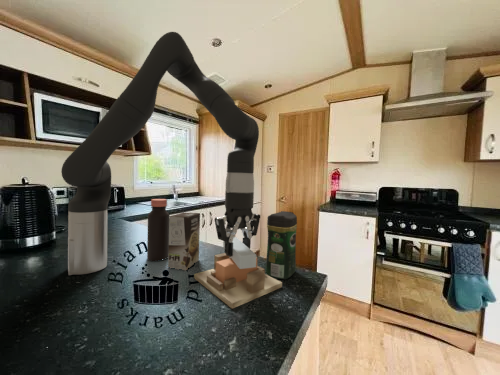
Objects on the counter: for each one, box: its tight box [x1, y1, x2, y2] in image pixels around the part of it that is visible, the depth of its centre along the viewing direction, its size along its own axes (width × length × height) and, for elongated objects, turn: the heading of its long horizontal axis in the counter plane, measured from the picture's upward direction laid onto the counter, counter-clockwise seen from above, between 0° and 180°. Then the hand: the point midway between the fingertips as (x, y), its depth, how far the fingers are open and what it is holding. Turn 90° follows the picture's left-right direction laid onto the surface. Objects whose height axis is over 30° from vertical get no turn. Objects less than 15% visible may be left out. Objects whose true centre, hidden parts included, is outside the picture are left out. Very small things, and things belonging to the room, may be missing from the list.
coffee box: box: [167, 212, 201, 271], centre depth 71 cm, size 9×6×16 cm
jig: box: [193, 252, 283, 310], centre depth 59 cm, size 16×18×5 cm
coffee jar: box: [265, 210, 298, 280], centre depth 66 cm, size 10×8×19 cm
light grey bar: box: [222, 236, 257, 269], centre depth 59 cm, size 4×16×3 cm, turn 21°
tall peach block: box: [215, 256, 258, 287], centre depth 59 cm, size 11×4×5 cm, turn 130°
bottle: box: [146, 198, 171, 262], centre depth 75 cm, size 7×7×20 cm
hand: (237, 253), depth 59 cm, fingers closed on light grey bar, 5 cm apart
